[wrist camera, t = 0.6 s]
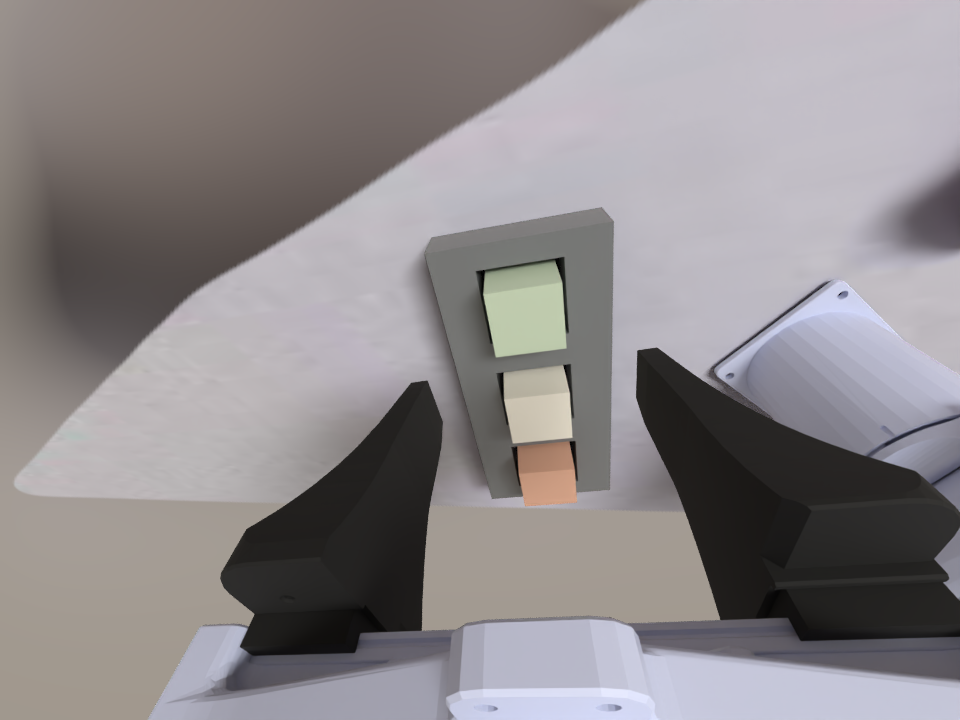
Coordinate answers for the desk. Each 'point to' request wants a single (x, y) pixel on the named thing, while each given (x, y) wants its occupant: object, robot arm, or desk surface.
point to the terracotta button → (547, 474)
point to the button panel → (587, 356)
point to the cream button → (538, 404)
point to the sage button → (525, 308)
